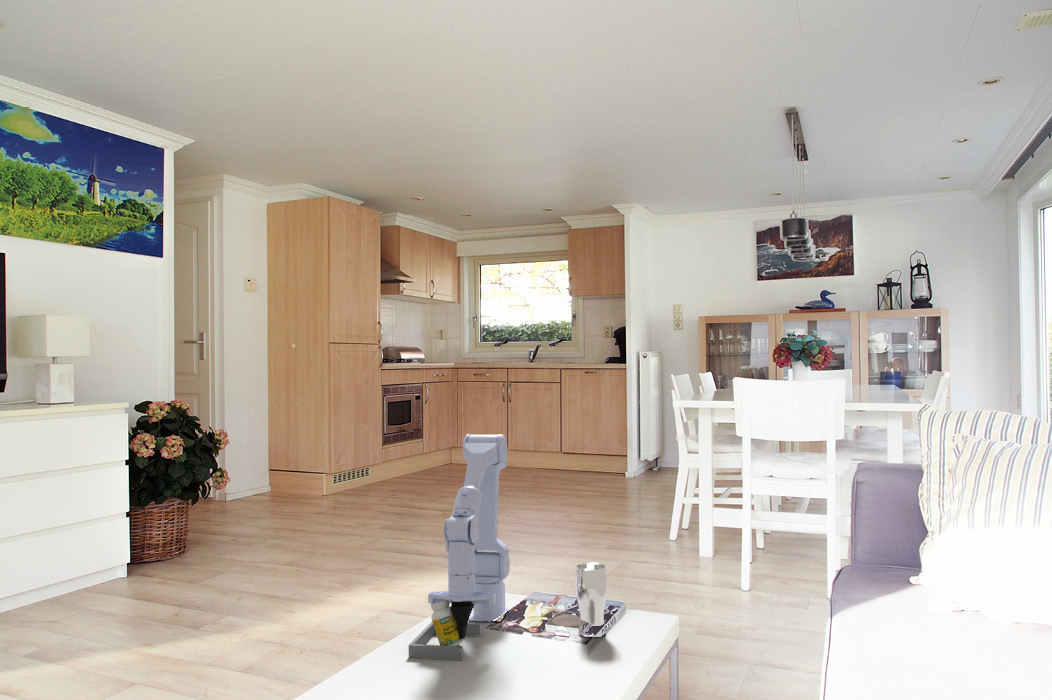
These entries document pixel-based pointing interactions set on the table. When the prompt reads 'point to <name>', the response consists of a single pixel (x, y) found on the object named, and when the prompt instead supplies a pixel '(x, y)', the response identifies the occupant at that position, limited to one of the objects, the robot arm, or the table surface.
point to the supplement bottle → (445, 624)
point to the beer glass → (591, 592)
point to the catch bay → (437, 651)
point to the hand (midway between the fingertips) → (462, 637)
